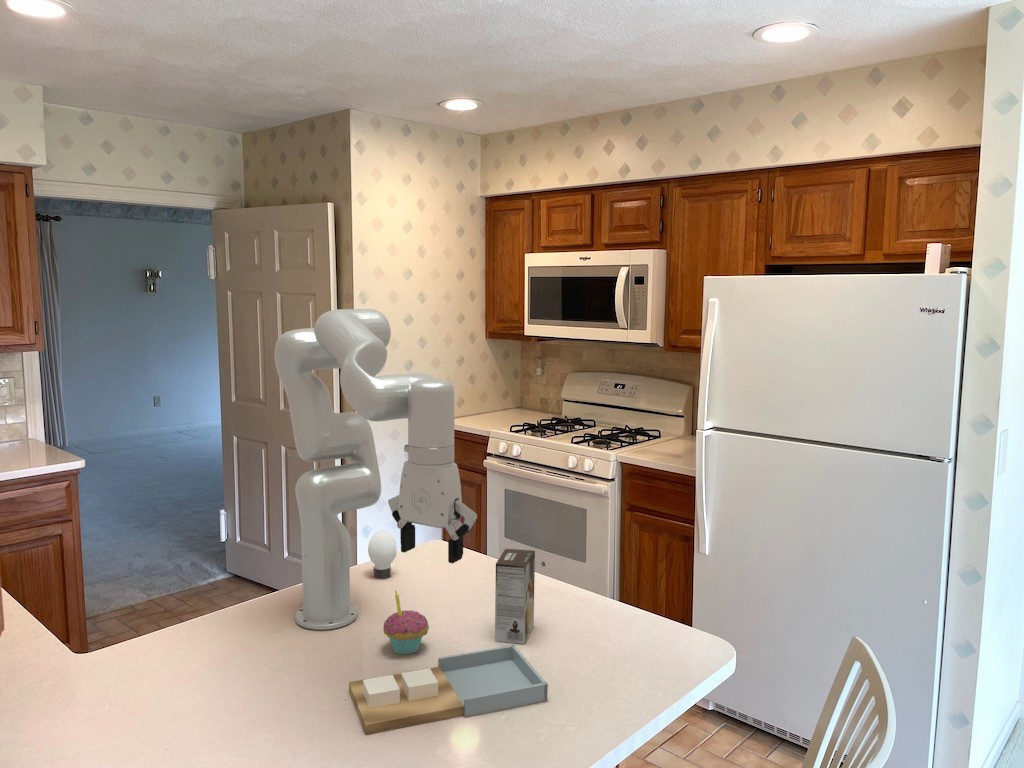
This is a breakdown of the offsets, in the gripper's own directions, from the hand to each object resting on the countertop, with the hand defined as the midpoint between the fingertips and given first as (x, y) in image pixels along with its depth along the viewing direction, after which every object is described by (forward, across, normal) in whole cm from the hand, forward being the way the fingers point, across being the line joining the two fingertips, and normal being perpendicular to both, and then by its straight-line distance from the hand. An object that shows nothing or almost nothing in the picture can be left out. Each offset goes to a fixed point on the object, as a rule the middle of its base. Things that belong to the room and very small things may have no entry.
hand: (431, 555), depth 132 cm
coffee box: (+25, 0, +28) cm, 37 cm away
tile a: (+23, -4, -8) cm, 25 cm away
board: (+24, -2, -5) cm, 25 cm away
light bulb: (+24, -41, +37) cm, 61 cm away
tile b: (+23, 0, -3) cm, 23 cm away
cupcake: (+25, -14, +11) cm, 30 cm away
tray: (+24, +7, +7) cm, 27 cm away
